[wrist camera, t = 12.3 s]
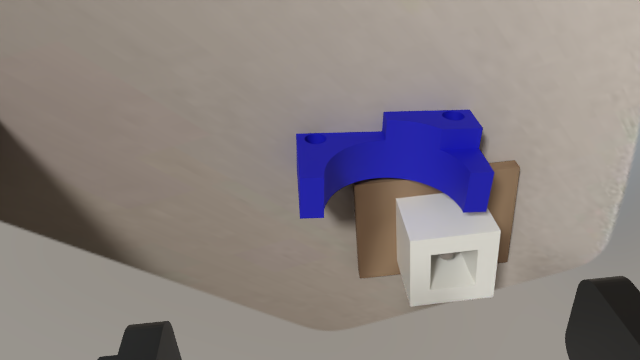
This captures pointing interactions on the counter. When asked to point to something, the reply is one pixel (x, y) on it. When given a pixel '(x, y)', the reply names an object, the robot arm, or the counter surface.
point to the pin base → (381, 193)
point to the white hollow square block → (445, 250)
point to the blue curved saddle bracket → (398, 158)
